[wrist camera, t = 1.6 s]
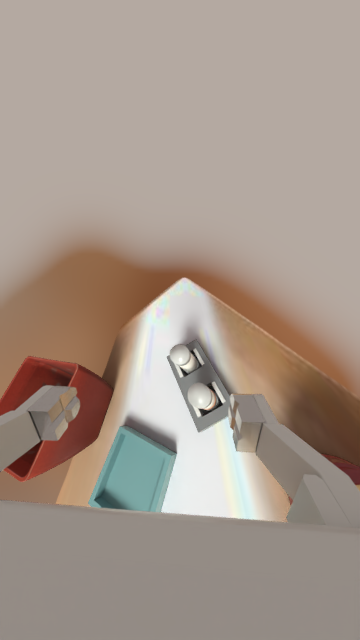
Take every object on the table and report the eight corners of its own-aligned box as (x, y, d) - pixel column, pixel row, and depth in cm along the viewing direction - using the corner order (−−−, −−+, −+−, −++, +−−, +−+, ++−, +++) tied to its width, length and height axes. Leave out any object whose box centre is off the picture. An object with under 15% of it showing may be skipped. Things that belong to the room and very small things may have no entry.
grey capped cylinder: (220, 393, 38) (212, 386, 30) (216, 413, 36) (206, 411, 28) (203, 388, 40) (191, 379, 32) (198, 406, 38) (184, 403, 30)
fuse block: (238, 410, 35) (237, 409, 32) (201, 431, 36) (197, 432, 33) (198, 343, 46) (195, 338, 43) (171, 360, 46) (166, 356, 43)
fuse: (201, 360, 43) (190, 346, 35) (197, 376, 42) (184, 365, 34) (187, 356, 45) (173, 342, 37) (182, 371, 44) (166, 360, 35)
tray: (176, 453, 35) (171, 456, 33) (151, 545, 30) (142, 556, 27) (127, 426, 42) (120, 426, 39) (98, 497, 36) (88, 503, 34)
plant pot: (100, 463, 39) (22, 485, 26) (50, 439, 47) (-31, 447, 33) (127, 379, 48) (79, 363, 34) (81, 371, 55) (27, 355, 42)
